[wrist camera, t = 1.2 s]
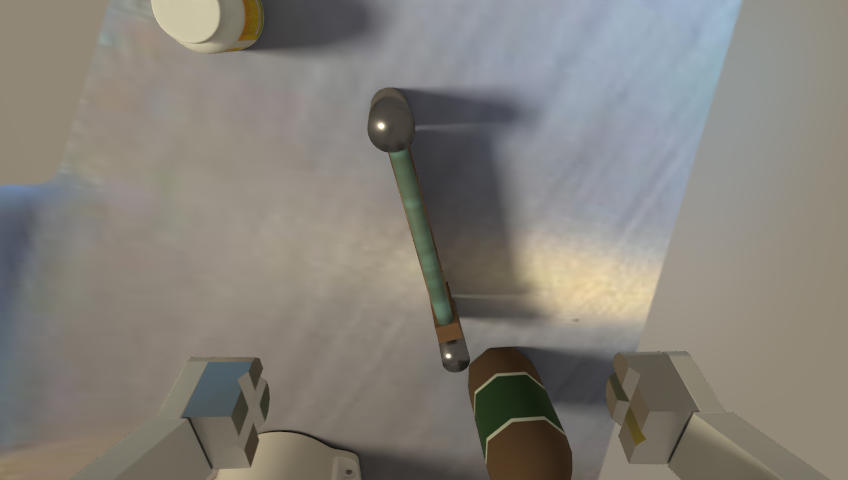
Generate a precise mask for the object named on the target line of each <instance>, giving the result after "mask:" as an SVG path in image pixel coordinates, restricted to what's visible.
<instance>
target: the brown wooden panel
mask: <svg viewBox="0 0 848 480" xmlns="http://www.w3.org/2000/svg"><path fill="white" fill-rule="evenodd" d="M388 154H389V157H390V161H391V164H392V168H393V171H394V175H395V178H396V182H397V185H398V189H399V192H400V196H401V199H402V203H403V206H404V210H405V213H406V217H407V220H408V224H409V227H410V231H411V234H412V238H413V241H414V245H415V248H416V252H417V255H418V259H419V262H420V266H421V269H422V273H423V276H424V280H425V283H426V287H427V290H428V294H429V297H430V302H431V308H432V313H433V319H434V325H435V330H436V333H437V336H438V340H439V343H443V342H447V341H451V340H455V339H459V338H462V336H461V332H460V328H459V324H458V320H457V316H456V313H455V309H454V305H453V301H452V297H451V293H450V290H449V286H448V282H445V279H444V275H443V271H442V267H441V264H440V260H439V256H438V252H437V248H436V245H435V241H434V237H433V233H432V230H431V226H430V222H429V218H428V215H427V211H426V207H425V203H424V199H423V196H422V192H421V188H420V184H419V181H418V177H417V173H416V169H415V166H414V162H413V158H412V154H411V150H410V147H409V146H408V147H407V148H405V149H404V150H402V151H399V152H395V153H389V152H388Z"/></svg>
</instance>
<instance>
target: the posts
mask: <svg viewBox="0 0 848 480" xmlns="http://www.w3.org/2000/svg"><path fill="white" fill-rule="evenodd" d="M368 135H369V138H370V140H371V142H372V143H373V144H374V145H375V146H376V147H377V148H378V149H380V150H382V151H384V152H389V153H395V152H399V151H402V150H404V149H405V148H407V147H408V146H409V145H410V143H411V142H412V140H413V138H414V135H415V122H414V119H413V117H412V114H411V111H410V108H409V105H408V102H407V100H406V97H405V96H404V95H403V93H402V92H400V91H399V90H397V89H395V88H384V89H381V90H379V91H378V92H377V93H376V94H375V95H374V97H373V98H372V101H371V107H370V113H369V120H368ZM452 301H453V305H454V309H455V313H456V316H457V320H458V324H459V328H460V332H461V336H462V338H459V339H455V340H451V341H447V342H443V343H439V347H440V352H441V358H442V363H443V366H444V368H445V369H446V370H448V371H450V372H460V371H463V370H464V369H466V368H467V367H468V365H469V363H470V357H469V353H468V350H467V346H466V342H465V338H464V335H463V331H462V327H461V323H460V320H459V316H458V312H457V308H456V305H455V302H454V300H453V299H452ZM438 341H439V340H438Z"/></svg>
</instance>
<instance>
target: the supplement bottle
mask: <svg viewBox="0 0 848 480" xmlns="http://www.w3.org/2000/svg"><path fill="white" fill-rule="evenodd" d="M151 3H152V9H153V12H154V15H155V17H156V19H157V21H158V23H159V24H160V26H161V27H162V28H163V29H164V30H165V31H166V32H167V33H168V34H169V35H170V36H172V37H173V38H175V39H176V40H177V41H178V42H179V43H181V44H182V45H184V46H185V47H187V48H189V49H191V50H193V51H196V52H200V53H206V54H214V53H223V52H231V51H238V50H242V49H246V48H248V47H250V46H251V45H252V44H254V43H255V42H256V41H257V39H258V38H259V37H260V35H261V33H262V30H263V26H264V10H263V6H262V3H261V0H151Z"/></svg>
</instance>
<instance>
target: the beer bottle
mask: <svg viewBox="0 0 848 480" xmlns="http://www.w3.org/2000/svg"><path fill="white" fill-rule="evenodd" d="M468 388H469V394H470V400H471V404H472V408H473V413H474V417H475V421H476V425H477V429H478V433H479V438H480V442H481V446H482V450H483V454H484V458H485V463H486V467H487V470H488V472H489V475H490V478H491V480H571V475H572V451H571V449H570V446H569V443H568V440H567V437H566V435H565V432H564V430H563V428H562V426H561V424H560V421H559V419H558V417H557V415H556V413H555V410H554V408H553V406H552V404H551V401H550V399H549V397H548V395H547V393H546V390H545V388H544V386H543V384H542V382H541V379H540V377H539V375H538V373H537V371H536V369H535V367H534V366H533V364H532V362H531V361H530V360H528V359H527V358H526V357H525V356H524V355H522V354H521V353H520V352H519V351H518V350H516V349H515V348H513V347H509V348H492V349H487V350H486V351H485V352H484V353H483V354H481V355H480V356H479V357H478V358H477V359H476V360H474V361H473V362H472V363H471V364H470V365H469V383H468Z"/></svg>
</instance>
